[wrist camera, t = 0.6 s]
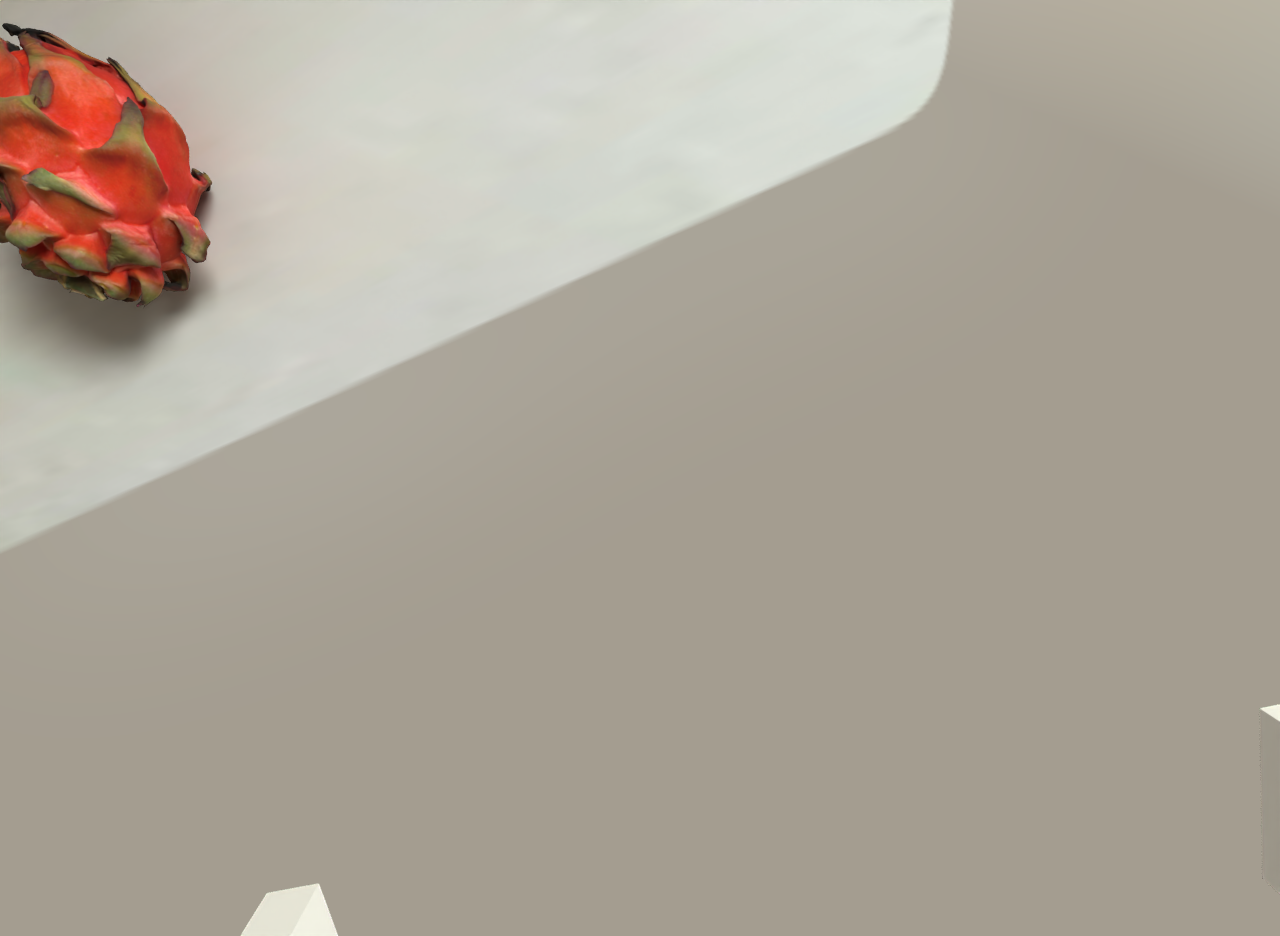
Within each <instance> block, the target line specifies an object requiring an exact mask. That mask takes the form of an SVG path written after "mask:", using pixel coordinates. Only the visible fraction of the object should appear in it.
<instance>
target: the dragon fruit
mask: <svg viewBox="0 0 1280 936" xmlns="http://www.w3.org/2000/svg"><path fill="white" fill-rule="evenodd" d="M2 26H3V28H4V29H5V30H6V31H8V32H9V34H10V35H11V36H13V35H16V36H18V39H19V41H20V46H21V47H22V48H23V50H20V48H19V46H15V45H14V44H11V43H10V42H8V41H4V40H3V39H2V38H0V243H5V242H10V243H11V244H13V245H14V246H17V247H18V248H19V253H20V255H21V258H22V264H21V266H22V267H23V268H24V269H27V270H31V272H32V273H33V274H34V275H35V276H37V277H42V278H45V279H51V280H58V282H59V283H60V284H62V285H63V287H64V288H65V289H71V291H70V292H76V293H80V294H85V296H86V297H88V298H96V299H97V300H99V301H104V300H105V299H108V298H107V296H108V297H110V298H113V299H116V300H123V301H126V302H129V301H130V302H133V301H137V300H138V299H139V297H140V295H141V302H139V303H138V304H137V305H136V306H137V307H139V305H144V304H145V306H146V305H147V304H148V303H150V302H151V301H152V300H154V299H155V298H157V297H158V296H159V295H160V294H161V292H162V289H165V290H166V291H185V290H187V289H188V285H189V280H190V269H189V266H188V264H187V261H186V257H185V255H184V254H183V253H182V251H183V252H184V253H185V254H186V255H187V256H188V257H189V258H191V259H192V260H193V261H194V262H195V263H199V262H204V261H205V260H206V255H207V248H208V246H209V245H210V240H209V239H208V237H207V235H206V233H205V232H204V231H203V229H201V224H200V222H199V220H198V219H197V218H196V217H194V214H195V211H196V208H197V206H198V203H199V199H200V196H201V194H202V192H204V191H205V190H206V191H209V190H210V186H211V185H212V182H211V180H210V178H209V177H208V175H207V174H206V173H204V172H203V173H204V174H203V173H201V172H199V171H198V170H196V169H194V168H192V172H191V173H190V166H189V147H188V144H187V142H186V137H185V134H184V132H183V130H182V129H181V127H180V126H179V124H178V123H177V122H176V120H175V119H174V118H173V117H172V116H171V114H170V113H169V112H168V111H167V110H166V109H165V108H164V107H162V106H161V105H159V104H158V103H157V102H156V101H155V99H154V98H153V97H152V96H150V95H149V94H148V93H147V92H146V91H144V90H143V88H141V87H140V85H139V84H138V83H137V82H135V81H134V80H133V79H132V78H131V77H130V76H129V75H128V73H127V72H126V71H125V70H124V69H123V68H122V67H121V66H120V65H119V63H118V62H117V61H115V60H113V59H111V58H110V57H108V59H107V61H108V62H109V63H110V64H108V63H105V62H103V61H101V60H98V59H96V58H93V57H91V56H89V55H86V54H84V53H82V52H81V51H79V50H77V49H75V48H74V47H72V46H71V45H69V44H68V43H67V42H65V41H64V40H62V39H60V38H59V37H57V36H55V35H53V34H51V33H49V32H45V31H42V30H36V29H31V28H26V29H21V28H20V27H18V26H16V25H12V24H8V23H4V24H3V25H2ZM162 271H164V272H165V273H166V275H167V276H168V278H169V279H170V281H171V283H169V282H166V281H165V284H164V277H163V273H162ZM104 293H106V295H107V296H106V295H105V294H104ZM141 293H142V294H141ZM145 306H144V307H145Z"/></svg>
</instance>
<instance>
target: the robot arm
mask: <svg viewBox="0 0 1280 936" xmlns="http://www.w3.org/2000/svg"><path fill="white" fill-rule="evenodd" d="M1260 761H1261V762H1260V767H1261V824H1262V825H1261V827H1262V878H1263V879H1264V880H1265V881H1266V882H1267V883H1268V884H1269V885H1270V886H1271V887H1272V888H1274V889H1275V890H1276V891H1277V892H1278V893H1279V894H1280V705H1275V706H1269V707H1264V708H1260ZM241 936H338V934H337V931H336V929H335V926H334V923H333V921H332V918H331V915H330V912H329V910H328V907H327V904H326V902H325V899H324V896H323V894H322V891H321V888H320V885H319V884H313V885H308V886H302V887H297V888H292V889H286V890H281V891H275V892H270V893H267V894H266V895H265V897H264V899H263V900H262V902H261V903H260V905H259V907H258V908H257V910H256V911H255V913H254V915H253V917H252V918H251V920H250V921H249V923H248V924H247V926H246V928H245V929H244V931H243V933H242V934H241Z"/></svg>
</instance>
